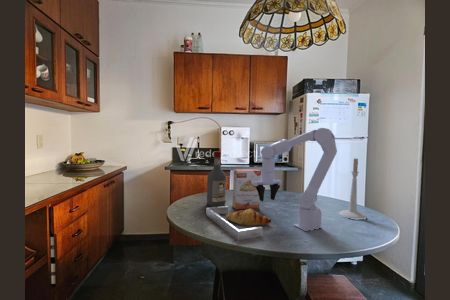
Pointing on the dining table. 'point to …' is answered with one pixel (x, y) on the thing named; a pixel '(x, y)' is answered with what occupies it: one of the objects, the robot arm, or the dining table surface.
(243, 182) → the cracker box
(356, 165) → the candlestick
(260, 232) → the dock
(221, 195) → the liquor
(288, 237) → the dining table surface
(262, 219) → the croissant
